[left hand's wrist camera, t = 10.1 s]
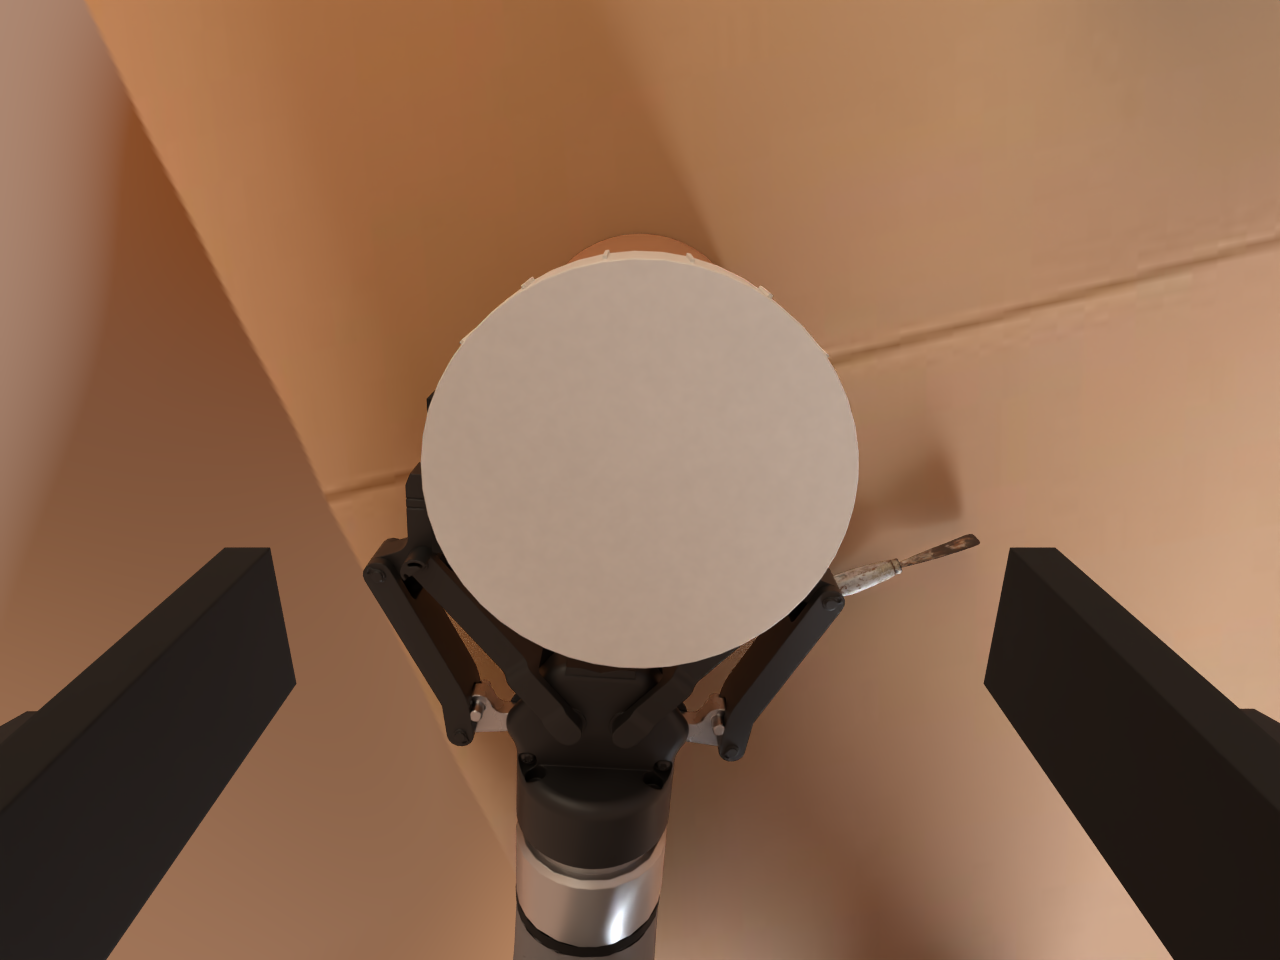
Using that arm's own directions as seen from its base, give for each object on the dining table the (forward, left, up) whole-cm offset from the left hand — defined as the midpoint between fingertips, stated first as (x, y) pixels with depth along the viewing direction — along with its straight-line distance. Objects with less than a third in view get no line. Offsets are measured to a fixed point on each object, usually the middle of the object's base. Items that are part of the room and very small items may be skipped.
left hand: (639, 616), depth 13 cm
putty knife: (+11, +13, -24) cm, 30 cm away
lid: (0, 0, -7) cm, 7 cm away
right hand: (+1, -1, -18) cm, 18 cm away
